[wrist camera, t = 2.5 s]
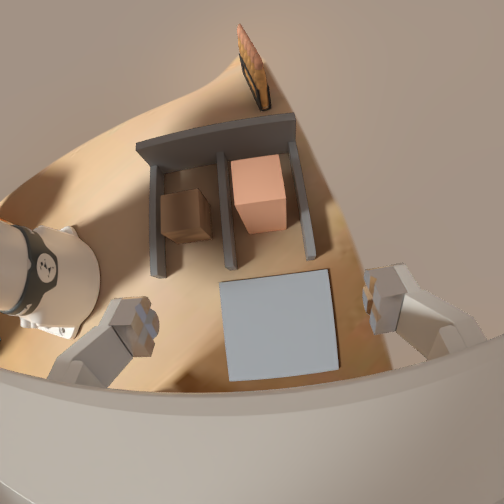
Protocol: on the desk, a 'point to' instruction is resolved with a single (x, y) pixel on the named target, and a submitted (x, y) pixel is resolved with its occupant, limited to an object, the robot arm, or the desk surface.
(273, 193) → the terracotta block
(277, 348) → the slate mat
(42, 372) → the desk surface
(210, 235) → the walnut block
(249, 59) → the ammunition clip
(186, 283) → the desk surface
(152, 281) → the desk surface
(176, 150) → the lane rack
